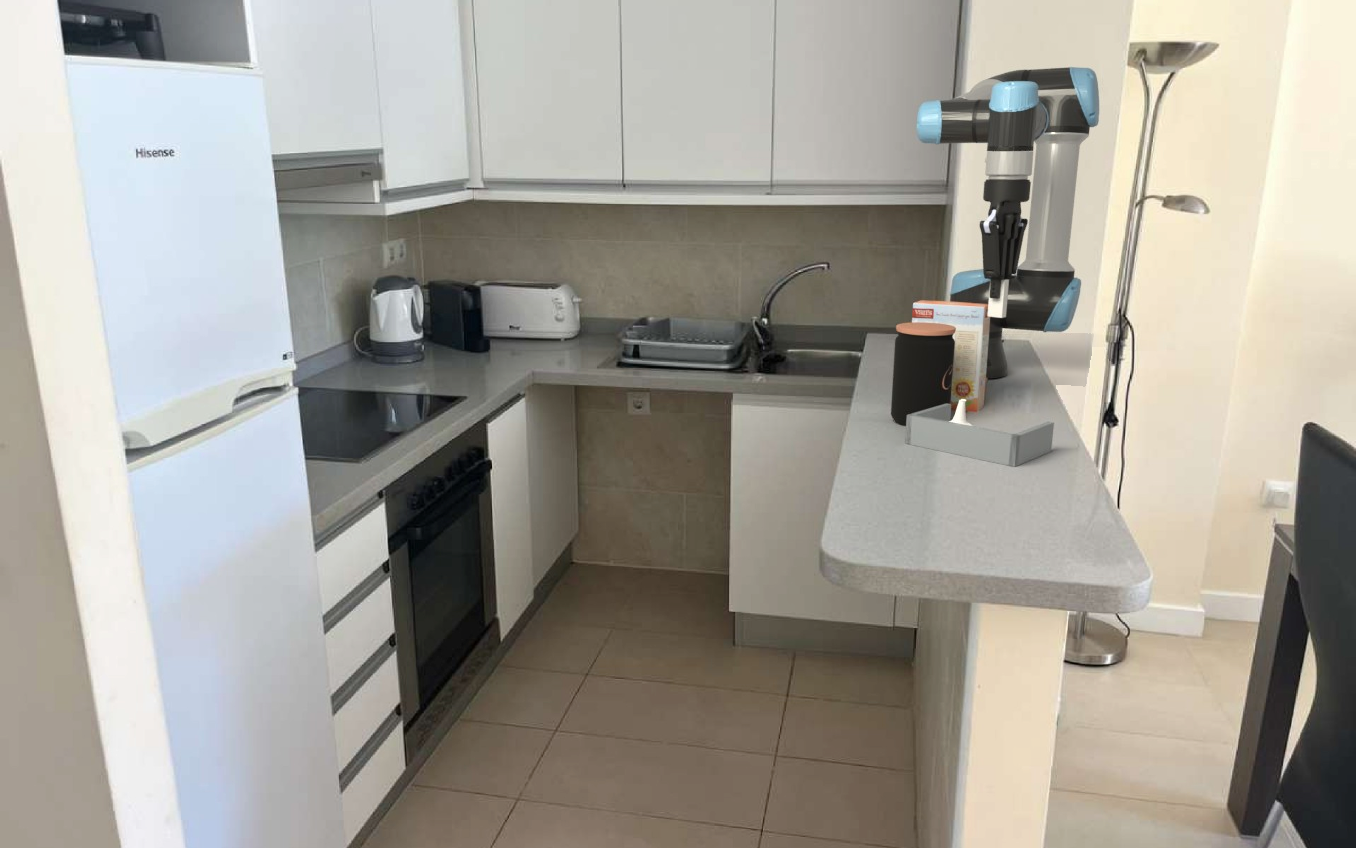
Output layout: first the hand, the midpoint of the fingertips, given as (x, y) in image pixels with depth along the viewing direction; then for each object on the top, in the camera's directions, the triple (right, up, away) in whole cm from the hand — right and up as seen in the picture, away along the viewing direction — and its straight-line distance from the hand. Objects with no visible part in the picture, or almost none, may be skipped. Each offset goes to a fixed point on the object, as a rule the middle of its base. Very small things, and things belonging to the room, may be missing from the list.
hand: (996, 316), depth 175 cm
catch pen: (-5, -23, -6) cm, 24 cm away
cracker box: (-3, -16, +24) cm, 29 cm away
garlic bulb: (-8, -22, -3) cm, 24 cm away
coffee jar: (-11, -19, +12) cm, 24 cm away
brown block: (+2, -11, +24) cm, 27 cm away
